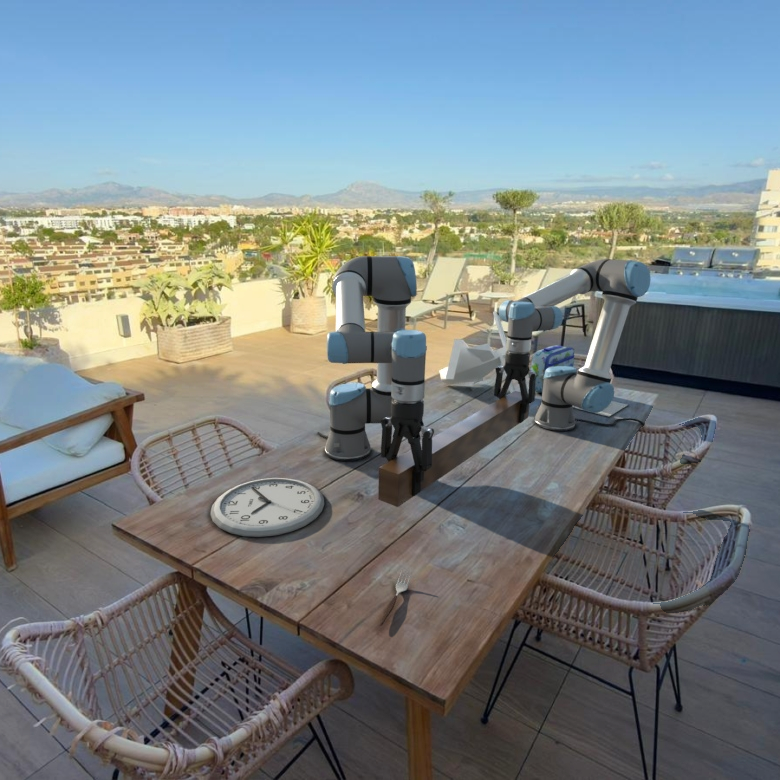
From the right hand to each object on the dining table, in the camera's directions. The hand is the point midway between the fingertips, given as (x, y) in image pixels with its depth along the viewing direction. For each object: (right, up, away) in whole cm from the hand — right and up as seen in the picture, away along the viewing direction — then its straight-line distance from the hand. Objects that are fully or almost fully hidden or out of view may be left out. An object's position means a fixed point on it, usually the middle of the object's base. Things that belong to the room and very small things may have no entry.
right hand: (511, 419), depth 173 cm
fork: (-40, -33, -67) cm, 84 cm away
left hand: (-37, -14, -47) cm, 61 cm away
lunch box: (+36, +10, +75) cm, 84 cm away
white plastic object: (+1, +9, +70) cm, 71 cm away
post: (-18, -8, -23) cm, 31 cm away
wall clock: (-73, -22, -31) cm, 83 cm away
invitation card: (+51, +2, +53) cm, 74 cm away
